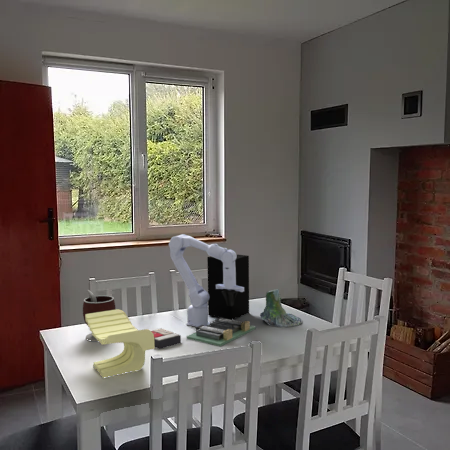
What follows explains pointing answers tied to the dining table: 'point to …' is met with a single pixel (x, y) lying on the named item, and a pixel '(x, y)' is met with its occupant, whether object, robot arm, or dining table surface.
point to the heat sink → (225, 326)
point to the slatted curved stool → (119, 341)
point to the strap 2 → (230, 321)
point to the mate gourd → (97, 307)
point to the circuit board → (221, 342)
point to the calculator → (165, 338)
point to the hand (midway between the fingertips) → (230, 305)
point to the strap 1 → (212, 329)
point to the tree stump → (277, 312)
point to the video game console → (217, 299)
